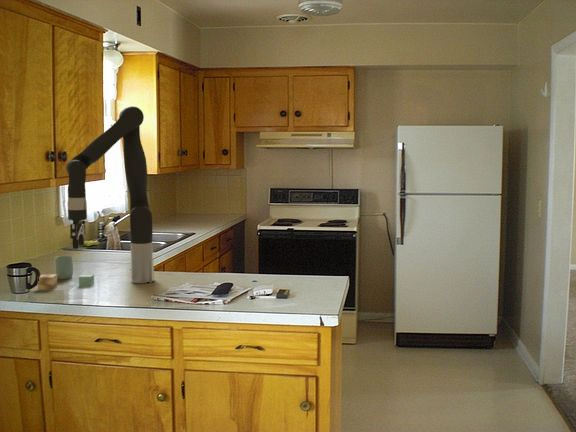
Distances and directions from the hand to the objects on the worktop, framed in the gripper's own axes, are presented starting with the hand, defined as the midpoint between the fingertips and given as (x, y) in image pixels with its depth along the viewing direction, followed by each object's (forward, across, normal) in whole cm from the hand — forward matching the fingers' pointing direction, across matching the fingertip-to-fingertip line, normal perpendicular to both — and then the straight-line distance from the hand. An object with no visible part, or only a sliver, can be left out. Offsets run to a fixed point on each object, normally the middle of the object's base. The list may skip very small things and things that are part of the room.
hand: (78, 247), depth 281 cm
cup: (+17, +15, +11) cm, 25 cm away
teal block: (+17, 0, -3) cm, 17 cm away
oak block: (+16, -6, +11) cm, 20 cm away
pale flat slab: (+17, -6, +9) cm, 20 cm away
